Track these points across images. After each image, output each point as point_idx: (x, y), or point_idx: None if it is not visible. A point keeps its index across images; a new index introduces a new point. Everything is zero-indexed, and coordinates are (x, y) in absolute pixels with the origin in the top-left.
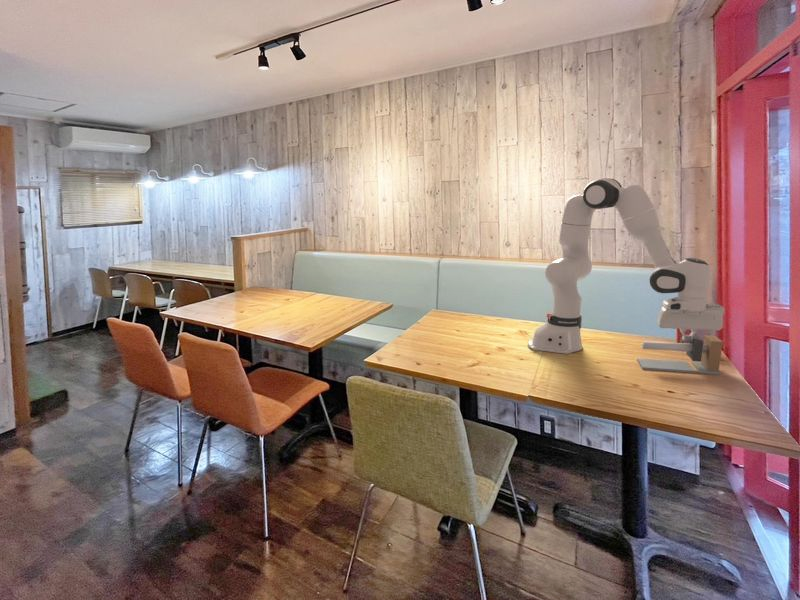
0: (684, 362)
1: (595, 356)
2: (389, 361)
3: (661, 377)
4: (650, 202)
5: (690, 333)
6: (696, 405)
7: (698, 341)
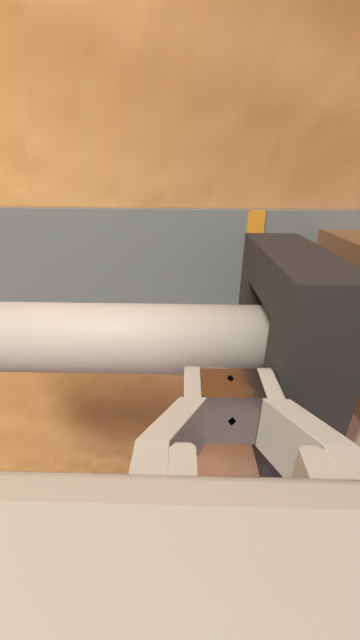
0: (228, 229)
1: None
2: None
3: (80, 406)
4: None
5: (278, 413)
6: None
7: None
